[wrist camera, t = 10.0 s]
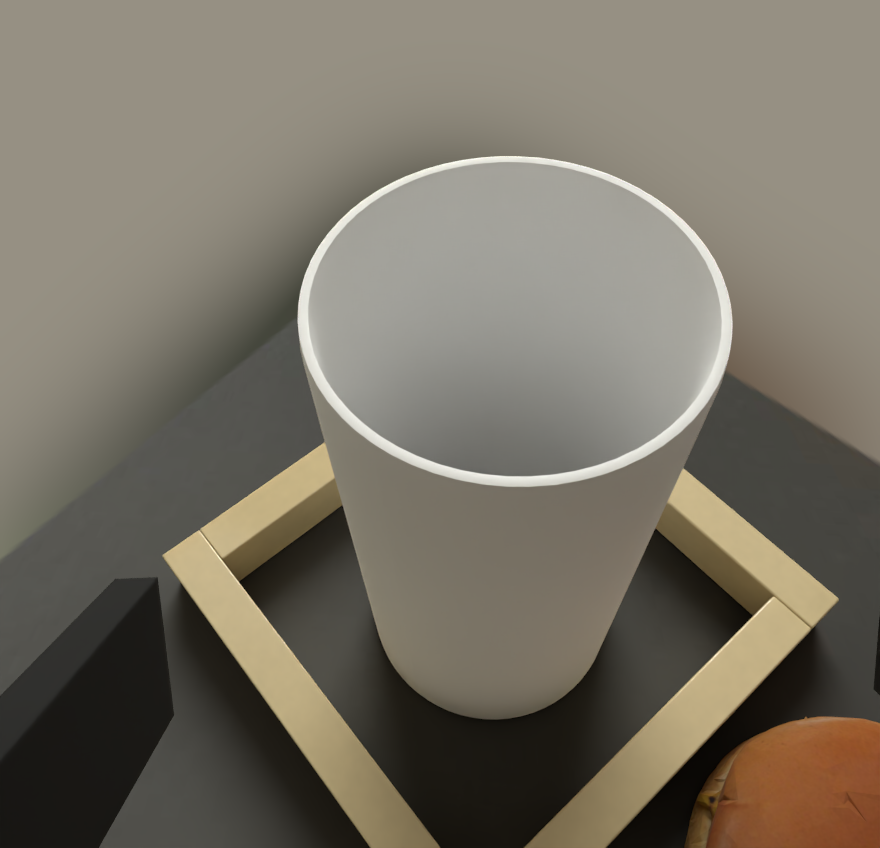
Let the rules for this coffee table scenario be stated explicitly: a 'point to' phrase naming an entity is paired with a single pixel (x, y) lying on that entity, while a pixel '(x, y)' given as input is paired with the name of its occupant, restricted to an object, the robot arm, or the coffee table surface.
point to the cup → (507, 411)
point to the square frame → (624, 777)
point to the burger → (794, 789)
